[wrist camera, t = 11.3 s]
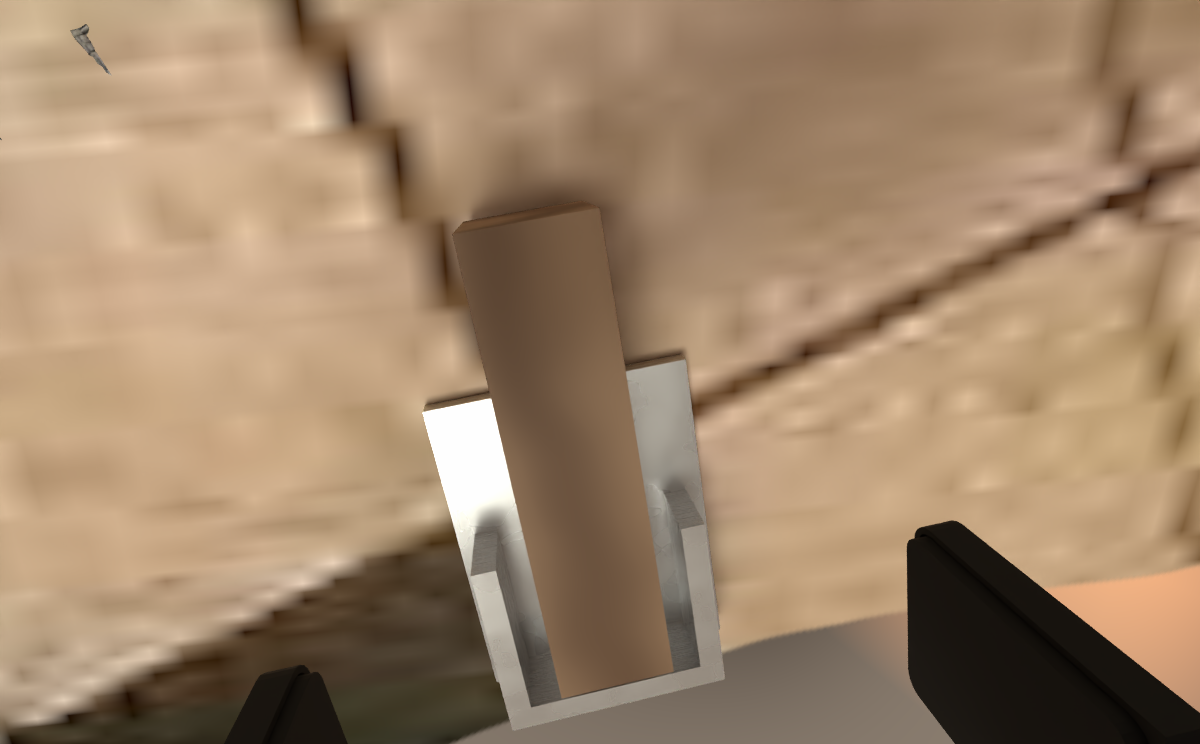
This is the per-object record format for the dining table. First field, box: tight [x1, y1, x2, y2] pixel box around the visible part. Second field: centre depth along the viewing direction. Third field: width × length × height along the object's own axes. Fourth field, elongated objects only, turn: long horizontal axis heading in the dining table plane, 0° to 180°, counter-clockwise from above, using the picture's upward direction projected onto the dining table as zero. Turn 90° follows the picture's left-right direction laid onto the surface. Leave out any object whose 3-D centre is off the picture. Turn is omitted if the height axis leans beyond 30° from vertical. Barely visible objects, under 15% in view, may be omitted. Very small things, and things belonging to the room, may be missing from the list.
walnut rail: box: [452, 201, 674, 698], centre depth 24 cm, size 4×18×5 cm, turn 9°
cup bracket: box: [423, 354, 725, 731], centre depth 27 cm, size 11×14×4 cm
